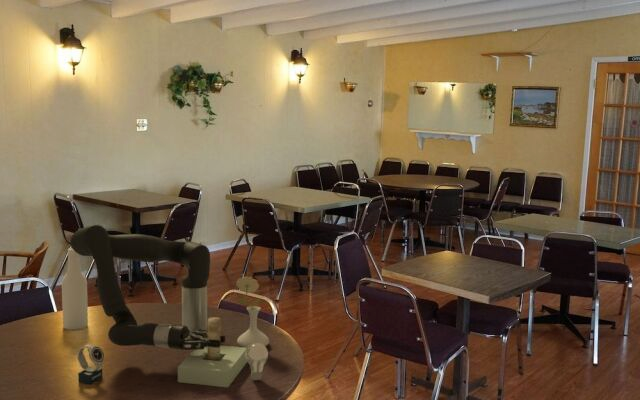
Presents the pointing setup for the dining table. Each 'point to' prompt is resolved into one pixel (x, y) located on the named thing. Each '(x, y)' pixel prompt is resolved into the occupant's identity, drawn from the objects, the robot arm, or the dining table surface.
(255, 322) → the flower in vase
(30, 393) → the dining table surface
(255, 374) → the light bulb
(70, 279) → the alcohol
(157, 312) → the dining table surface
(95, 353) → the watch
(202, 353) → the hole block
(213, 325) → the peg
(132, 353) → the dining table surface
